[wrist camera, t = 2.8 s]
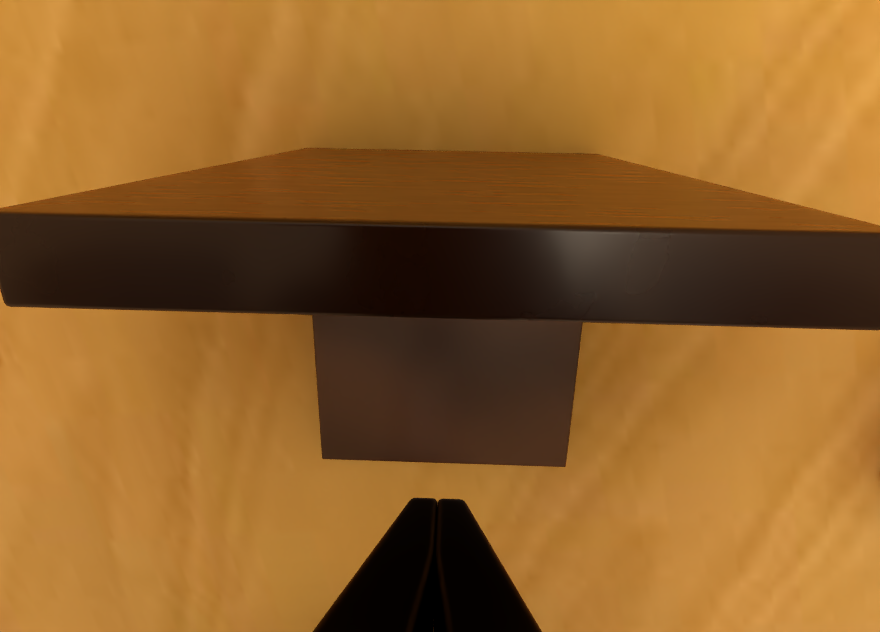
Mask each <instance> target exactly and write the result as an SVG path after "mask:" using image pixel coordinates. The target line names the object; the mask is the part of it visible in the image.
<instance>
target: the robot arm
mask: <svg viewBox="0 0 880 632" xmlns="http://www.w3.org/2000/svg"><path fill="white" fill-rule="evenodd" d="M433 625H434V632H542V631H541V629H540V628H539V626H538V624H537V623H536V621H535V619H534V618H533V616H532V614H531V613H530V611H529V609H528V608H527V606H526V604H525V602H524V601H523V599H522V597H521V596H520V594H519V592H518V591H517V589H516V587H515V586H514V584H513V582H512V580H511V579H510V577H509V575H508V574H507V572H506V570H505V569H504V567H503V565H502V564H501V562H500V560H499V558H498V557H497V555H496V553H495V552H494V550H493V548H492V547H491V545H490V543H489V542H488V540H487V538H486V536H485V535H484V533H483V531H482V530H481V528H480V526H479V525H478V523H477V521H476V520H475V518H474V516H473V514H472V513H471V511H470V509H469V508H468V506H467V504H466V503H465V502H464V501H463V500H460V499H440V500H439V501H438V507H437V501H436V500H435V499H433V498H413V499H411V500H410V501H409V502H408V504H407V505H406V506H405V508H404V509H403V510H402V512H401V513H400V514H399V516H398V517H397V518H396V520H395V521H394V523H393V524H392V525H391V527H390V528H389V529H388V531H387V532H386V533H385V535H384V536H383V537H382V539H381V540H380V541H379V543H378V544H377V545H376V547H375V548H374V550H373V551H372V552H371V554H370V555H369V556H368V558H367V559H366V560H365V562H364V563H363V564H362V566H361V567H360V568H359V570H358V571H357V573H356V574H355V575H354V577H353V578H352V579H351V581H350V582H349V583H348V585H347V586H346V587H345V589H344V590H343V591H342V593H341V594H340V595H339V597H338V598H337V600H336V601H335V602H334V604H333V605H332V606H331V608H330V609H329V610H328V612H327V613H326V614H325V616H324V617H323V618H322V620H321V621H320V622H319V624H318V625H317V627H316V628H315V629H314V631H313V632H433Z"/></svg>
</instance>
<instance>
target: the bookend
mask: <svg viewBox="0 0 880 632" xmlns="http://www.w3.org/2000/svg"><path fill="white" fill-rule="evenodd" d="M0 289H1V293H2V297H3V300H4V303H5V304H6V305H7V306H10V307H41V308H77V309H114V310H151V311H187V312H224V313H260V314H297V315H312V318H313V332H314V347H315V361H316V376H317V390H318V405H319V419H320V434H321V448H322V458H323V459H342V460H372V461H402V462H433V463H463V464H493V465H523V466H553V467H565V466H566V459H567V451H568V442H569V434H570V425H571V417H572V408H573V400H574V392H575V383H576V375H577V366H578V358H579V349H580V341H581V333H582V324H583V322H590V323H626V324H663V325H700V326H736V327H773V328H809V329H846V330H880V226H879V225H875V224H871V223H867V222H863V221H859V220H855V219H851V218H848V217H844V216H840V215H836V214H832V213H828V212H824V211H820V210H816V209H812V208H808V207H804V206H800V205H796V204H792V203H788V202H784V201H780V200H777V199H773V198H769V197H765V196H761V195H757V194H753V193H749V192H745V191H741V190H737V189H733V188H729V187H725V186H721V185H717V184H713V183H709V182H705V181H702V180H698V179H694V178H690V177H686V176H682V175H678V174H674V173H670V172H666V171H662V170H658V169H654V168H650V167H646V166H642V165H638V164H634V163H630V162H627V161H623V160H619V159H615V158H611V157H607V156H603V155H599V154H569V153H521V152H472V151H423V150H375V149H326V148H304V149H299V150H294V151H289V152H284V153H279V154H274V155H269V156H263V157H258V158H253V159H248V160H243V161H238V162H233V163H228V164H223V165H218V166H213V167H207V168H202V169H197V170H192V171H187V172H182V173H177V174H172V175H167V176H162V177H157V178H151V179H146V180H141V181H136V182H131V183H126V184H121V185H116V186H111V187H106V188H101V189H95V190H90V191H85V192H80V193H75V194H70V195H65V196H60V197H55V198H50V199H45V200H39V201H34V202H29V203H24V204H19V205H14V206H9V207H4V208H0Z"/></svg>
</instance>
